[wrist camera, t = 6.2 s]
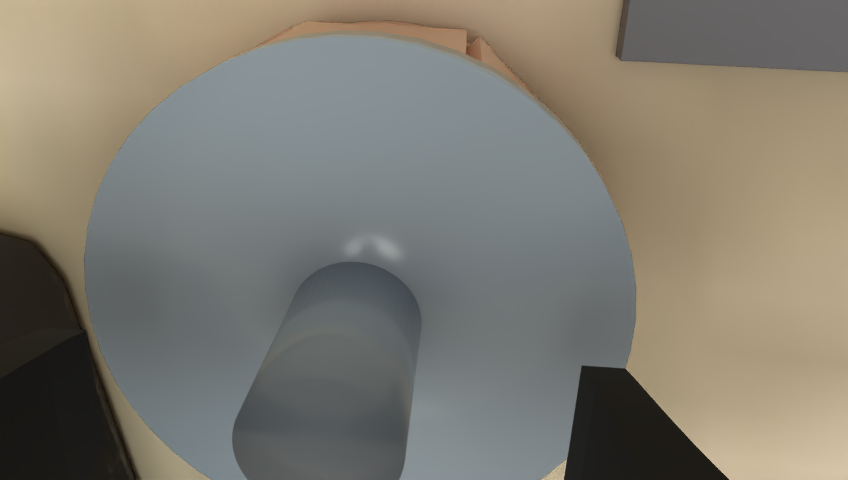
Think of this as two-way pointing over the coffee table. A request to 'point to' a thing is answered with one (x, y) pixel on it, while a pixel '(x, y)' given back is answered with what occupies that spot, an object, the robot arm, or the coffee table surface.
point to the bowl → (435, 35)
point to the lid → (357, 267)
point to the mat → (737, 33)
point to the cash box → (50, 308)
